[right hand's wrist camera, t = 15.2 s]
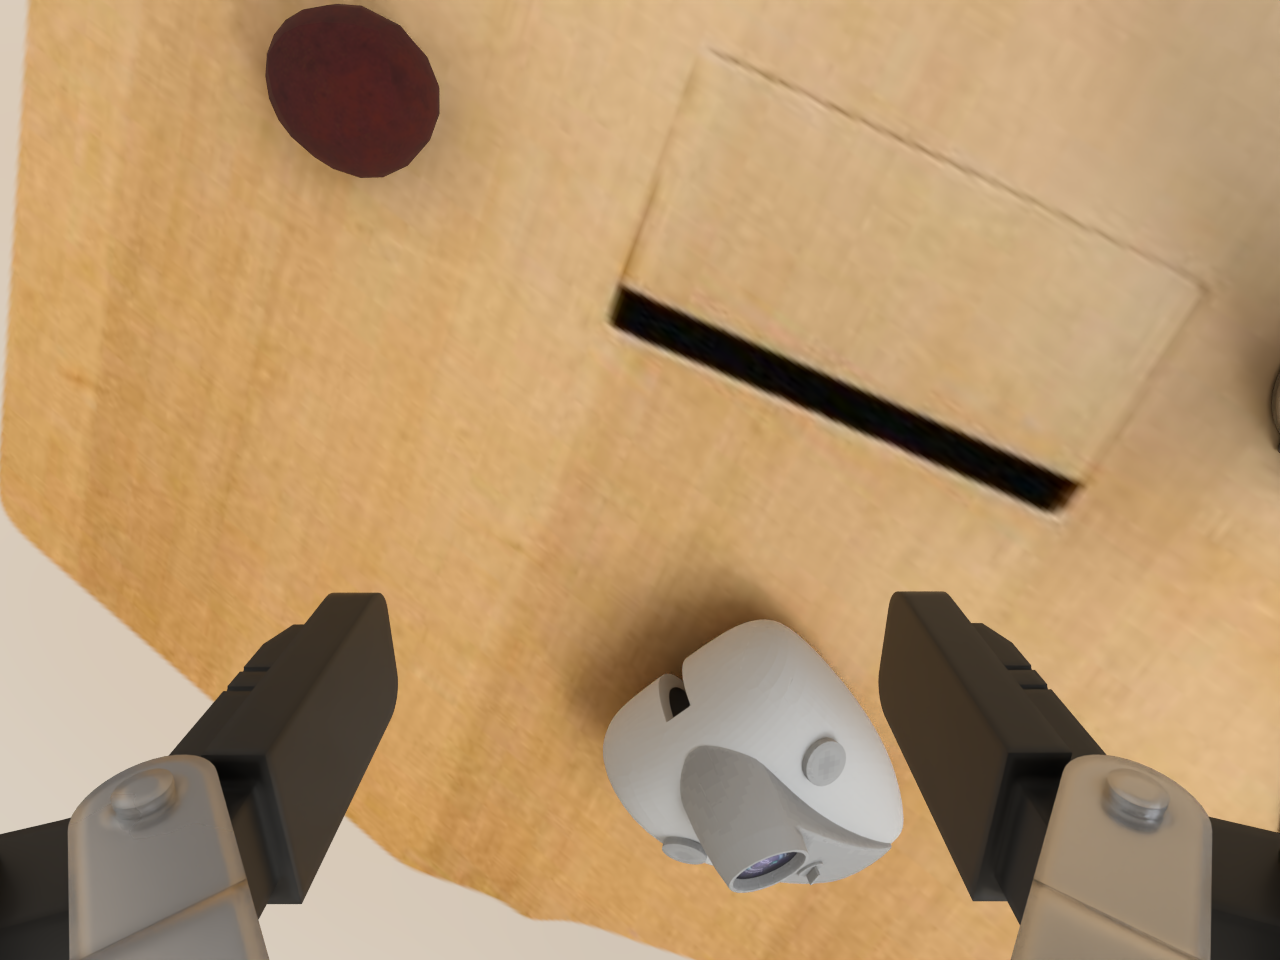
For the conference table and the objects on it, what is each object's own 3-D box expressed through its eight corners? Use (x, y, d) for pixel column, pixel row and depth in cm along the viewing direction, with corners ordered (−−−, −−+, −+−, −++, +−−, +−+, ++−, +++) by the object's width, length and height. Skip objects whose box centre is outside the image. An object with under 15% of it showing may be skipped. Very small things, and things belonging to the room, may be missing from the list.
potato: (290, 34, 37) (214, -2, 30) (438, 13, 36) (393, -28, 30) (329, 187, 39) (267, 185, 33) (467, 170, 39) (433, 163, 32)
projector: (606, 841, 57) (595, 1042, 43) (605, 592, 49) (592, 744, 35) (882, 844, 57) (958, 1046, 43) (928, 596, 49) (1040, 749, 35)
